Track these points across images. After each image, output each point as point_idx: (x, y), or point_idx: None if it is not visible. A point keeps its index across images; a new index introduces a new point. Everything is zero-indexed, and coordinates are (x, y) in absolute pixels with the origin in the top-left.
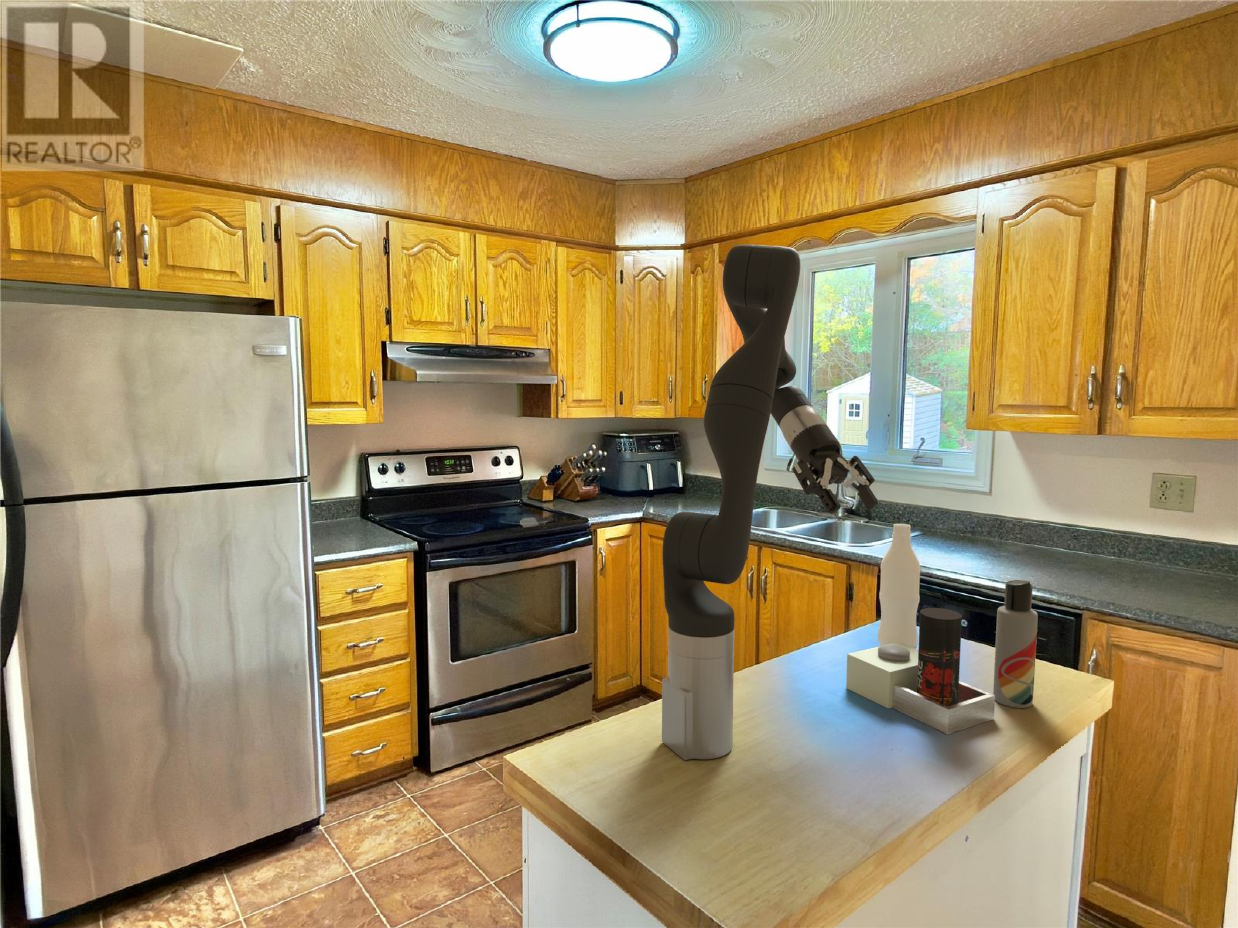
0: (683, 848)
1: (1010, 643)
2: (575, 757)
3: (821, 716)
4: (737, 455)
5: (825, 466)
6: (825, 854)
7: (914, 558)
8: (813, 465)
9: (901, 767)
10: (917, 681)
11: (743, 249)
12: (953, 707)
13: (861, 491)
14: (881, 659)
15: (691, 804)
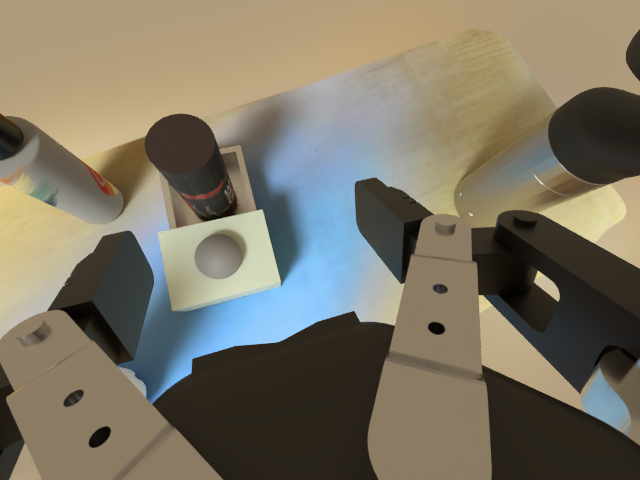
0: (515, 86)
1: (72, 156)
2: (584, 208)
3: (347, 225)
4: None
5: (472, 347)
6: (433, 57)
7: None
8: (601, 422)
9: (325, 123)
10: (229, 203)
11: None
12: (231, 147)
13: (119, 325)
14: (245, 250)
15: (503, 125)
